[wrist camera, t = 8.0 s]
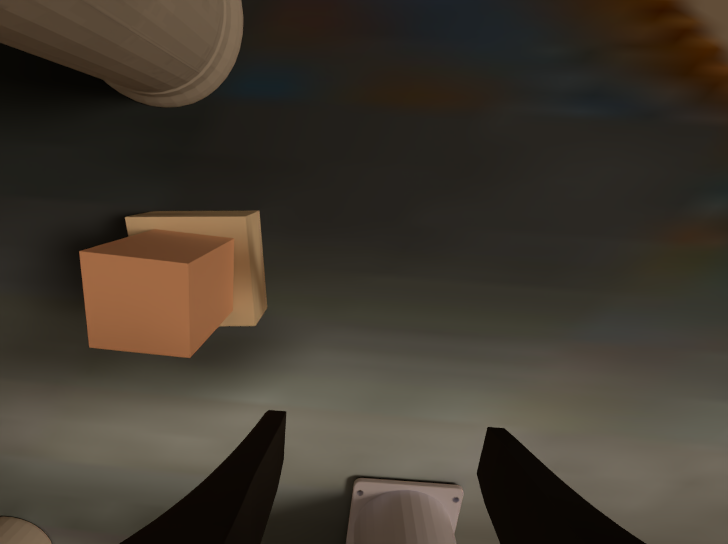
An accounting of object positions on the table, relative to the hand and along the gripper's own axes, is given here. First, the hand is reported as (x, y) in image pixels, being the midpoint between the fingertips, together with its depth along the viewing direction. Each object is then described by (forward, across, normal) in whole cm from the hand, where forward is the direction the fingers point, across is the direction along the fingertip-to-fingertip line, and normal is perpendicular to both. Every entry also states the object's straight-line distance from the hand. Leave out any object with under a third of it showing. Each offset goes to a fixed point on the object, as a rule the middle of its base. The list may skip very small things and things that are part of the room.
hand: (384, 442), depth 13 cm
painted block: (+8, +10, -3) cm, 13 cm away
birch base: (+11, +10, -3) cm, 15 cm away
